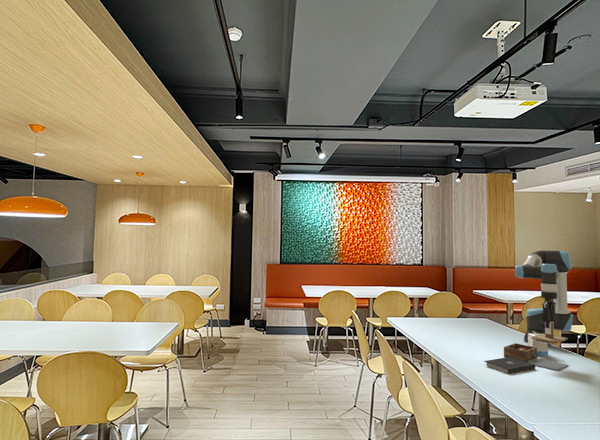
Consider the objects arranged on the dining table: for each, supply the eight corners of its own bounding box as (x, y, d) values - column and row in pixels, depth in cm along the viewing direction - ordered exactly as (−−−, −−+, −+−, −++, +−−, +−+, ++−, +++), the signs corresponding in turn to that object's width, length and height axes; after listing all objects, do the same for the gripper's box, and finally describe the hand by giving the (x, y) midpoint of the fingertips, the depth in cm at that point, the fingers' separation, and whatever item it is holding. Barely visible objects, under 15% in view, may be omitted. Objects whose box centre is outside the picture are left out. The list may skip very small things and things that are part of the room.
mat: (542, 359, 222) (542, 358, 222) (568, 365, 212) (568, 364, 212) (531, 364, 212) (531, 363, 212) (558, 371, 202) (558, 370, 202)
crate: (515, 352, 236) (515, 343, 236) (536, 357, 226) (536, 347, 227) (503, 357, 226) (503, 346, 226) (525, 362, 216) (525, 351, 217)
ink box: (548, 356, 230) (548, 334, 231) (533, 355, 232) (532, 333, 232) (542, 352, 238) (542, 331, 239) (527, 351, 240) (527, 330, 241)
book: (509, 375, 195) (509, 369, 195) (483, 366, 208) (483, 360, 209) (535, 370, 205) (535, 364, 205) (509, 362, 218) (509, 356, 218)
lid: (542, 336, 223) (542, 319, 224) (567, 341, 213) (567, 323, 214) (531, 340, 213) (531, 322, 214) (557, 345, 203) (556, 326, 204)
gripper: (546, 289, 223) (547, 330, 221) (536, 291, 213) (536, 333, 211) (561, 291, 217) (562, 333, 215) (551, 292, 207) (551, 336, 205)
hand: (549, 333), depth 213 cm, fingers closed on lid, 3 cm apart
